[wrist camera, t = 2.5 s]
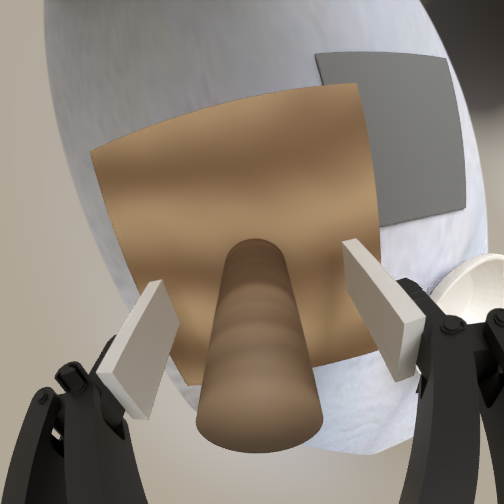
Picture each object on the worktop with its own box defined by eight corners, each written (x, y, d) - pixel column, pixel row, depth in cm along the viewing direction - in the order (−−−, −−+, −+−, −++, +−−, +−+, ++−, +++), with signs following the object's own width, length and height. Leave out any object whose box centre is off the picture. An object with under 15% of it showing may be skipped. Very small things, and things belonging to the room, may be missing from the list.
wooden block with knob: (160, 143, 25) (-59, 191, 4) (307, 108, 24) (498, 30, 2) (208, 298, 32) (165, 500, 10) (335, 271, 30) (428, 460, 9)
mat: (314, 54, 21) (315, 53, 21) (444, 58, 20) (446, 58, 20) (349, 231, 29) (350, 233, 28) (464, 207, 27) (465, 207, 27)
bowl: (494, 302, 33) (515, 323, 27) (410, 368, 38) (425, 396, 31) (481, 208, 27) (514, 224, 21) (374, 289, 32) (397, 322, 25)
